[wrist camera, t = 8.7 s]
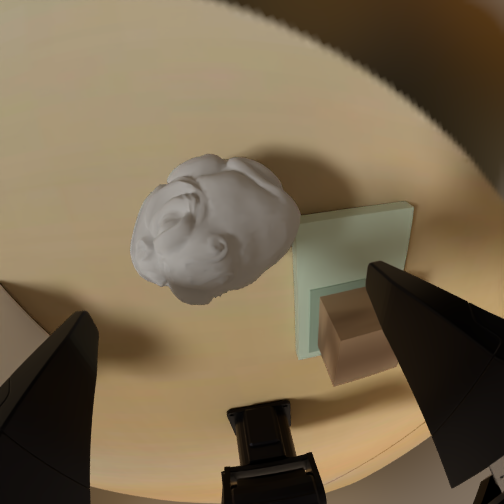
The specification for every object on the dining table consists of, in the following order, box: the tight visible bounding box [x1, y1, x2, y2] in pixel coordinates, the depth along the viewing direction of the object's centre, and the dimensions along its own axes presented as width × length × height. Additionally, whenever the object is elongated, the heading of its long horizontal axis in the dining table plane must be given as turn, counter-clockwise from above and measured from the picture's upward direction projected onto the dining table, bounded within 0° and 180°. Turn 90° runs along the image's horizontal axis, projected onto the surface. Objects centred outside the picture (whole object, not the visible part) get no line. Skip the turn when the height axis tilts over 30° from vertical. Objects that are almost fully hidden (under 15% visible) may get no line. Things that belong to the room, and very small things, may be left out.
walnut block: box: [318, 287, 398, 387], centre depth 19 cm, size 5×5×4 cm
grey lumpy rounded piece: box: [130, 154, 301, 305], centre depth 13 cm, size 6×7×7 cm
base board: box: [292, 201, 414, 360], centre depth 20 cm, size 12×8×1 cm, turn 7°
